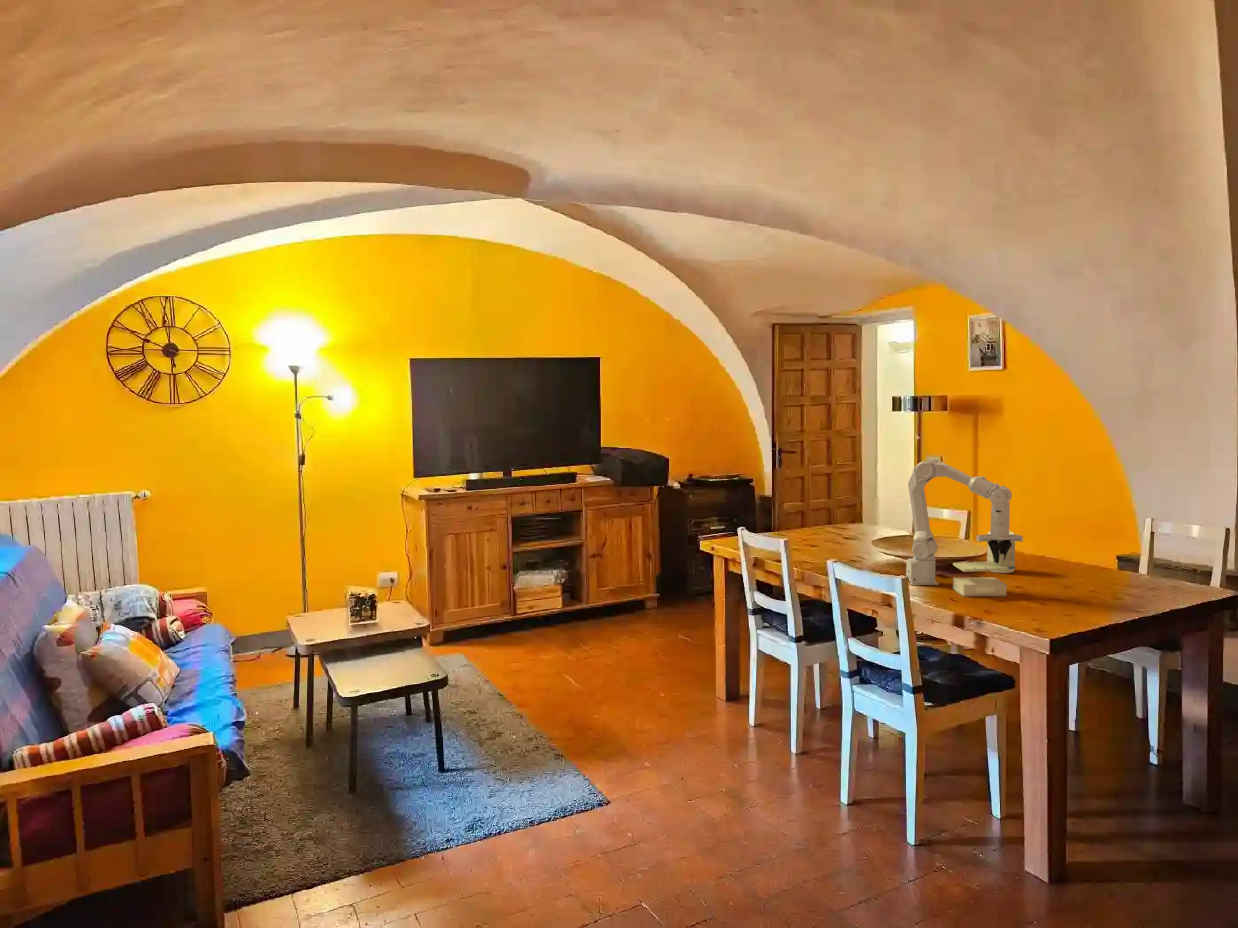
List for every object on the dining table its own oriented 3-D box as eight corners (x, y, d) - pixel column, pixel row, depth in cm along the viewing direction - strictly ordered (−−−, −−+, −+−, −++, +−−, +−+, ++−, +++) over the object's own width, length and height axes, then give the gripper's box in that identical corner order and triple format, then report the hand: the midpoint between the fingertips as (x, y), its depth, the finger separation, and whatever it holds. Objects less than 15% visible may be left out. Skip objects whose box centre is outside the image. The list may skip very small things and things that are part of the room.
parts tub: (963, 596, 276) (963, 584, 275) (952, 588, 286) (952, 577, 285) (1006, 596, 275) (1007, 584, 274) (994, 588, 285) (994, 577, 285)
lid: (964, 571, 275) (963, 557, 274) (952, 565, 285) (952, 551, 285) (1008, 570, 274) (1008, 555, 273) (995, 563, 284) (995, 549, 284)
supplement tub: (1019, 571, 310) (1021, 532, 308) (1005, 575, 305) (1006, 535, 303) (995, 567, 318) (996, 529, 316) (981, 570, 313) (982, 532, 311)
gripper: (982, 524, 274) (981, 565, 275) (1027, 524, 273) (1026, 564, 275) (974, 521, 281) (973, 560, 282) (1018, 521, 280) (1016, 560, 282)
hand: (998, 562), depth 279 cm, fingers closed on lid
